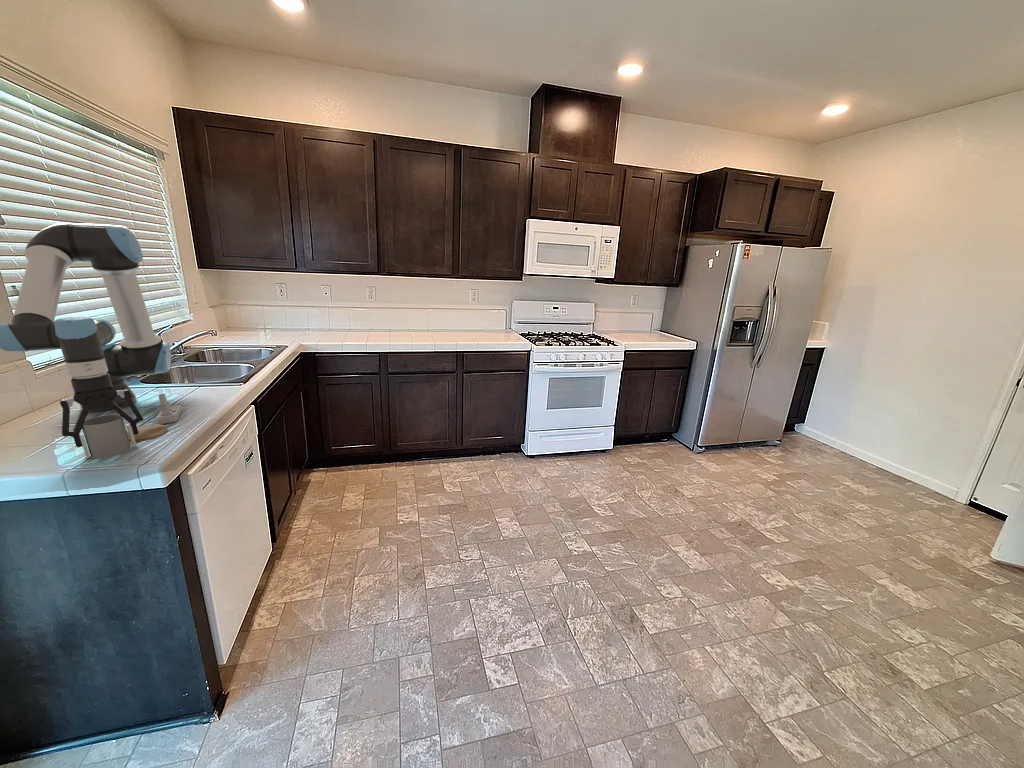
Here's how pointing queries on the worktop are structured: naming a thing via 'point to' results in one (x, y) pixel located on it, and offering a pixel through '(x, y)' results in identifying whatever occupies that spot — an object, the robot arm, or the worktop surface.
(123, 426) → the cup
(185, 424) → the worktop surface
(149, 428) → the plate
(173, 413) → the electronic device
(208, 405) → the worktop surface
